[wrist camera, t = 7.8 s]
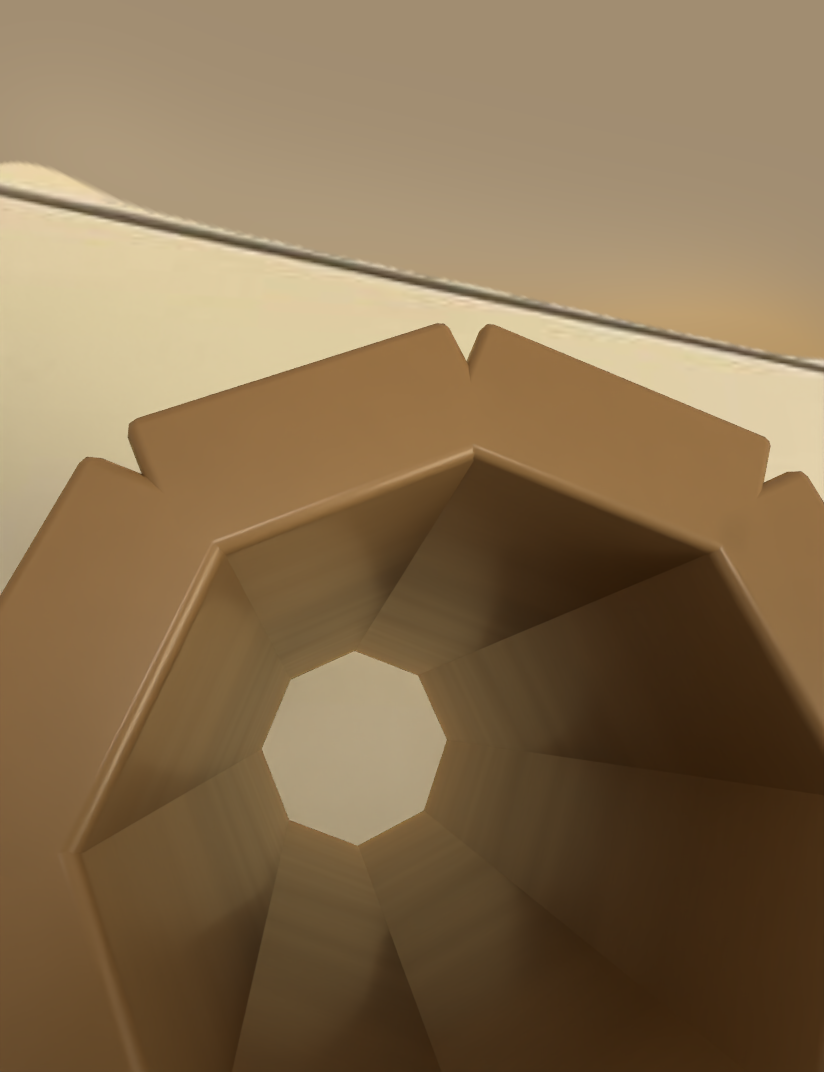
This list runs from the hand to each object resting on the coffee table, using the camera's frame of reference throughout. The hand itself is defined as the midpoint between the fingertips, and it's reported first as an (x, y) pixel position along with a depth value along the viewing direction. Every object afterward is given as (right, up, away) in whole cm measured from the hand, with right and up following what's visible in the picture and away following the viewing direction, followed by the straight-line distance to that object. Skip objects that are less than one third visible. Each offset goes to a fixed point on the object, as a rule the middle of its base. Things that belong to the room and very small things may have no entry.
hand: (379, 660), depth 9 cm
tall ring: (-1, -3, +6) cm, 7 cm away
